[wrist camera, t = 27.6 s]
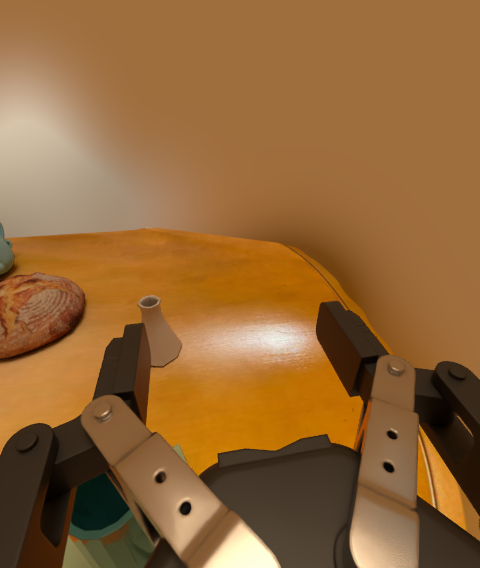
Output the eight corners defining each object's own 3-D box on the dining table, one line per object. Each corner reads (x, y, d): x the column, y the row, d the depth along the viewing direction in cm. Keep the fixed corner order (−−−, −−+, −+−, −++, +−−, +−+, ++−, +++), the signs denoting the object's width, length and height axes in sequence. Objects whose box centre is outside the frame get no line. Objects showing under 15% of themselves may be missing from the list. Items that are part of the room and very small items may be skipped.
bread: (-48, 367, 49) (-88, 318, 43) (28, 295, 65) (6, 253, 60) (52, 365, 48) (23, 315, 42) (103, 293, 64) (87, 250, 59)
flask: (126, 359, 49) (112, 308, 44) (154, 331, 55) (145, 283, 49) (163, 373, 46) (153, 322, 41) (189, 343, 52) (183, 294, 47)
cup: (178, 522, 30) (163, 461, 24) (142, 605, 25) (112, 556, 19) (126, 499, 31) (99, 437, 25) (82, 573, 27) (37, 518, 21)
